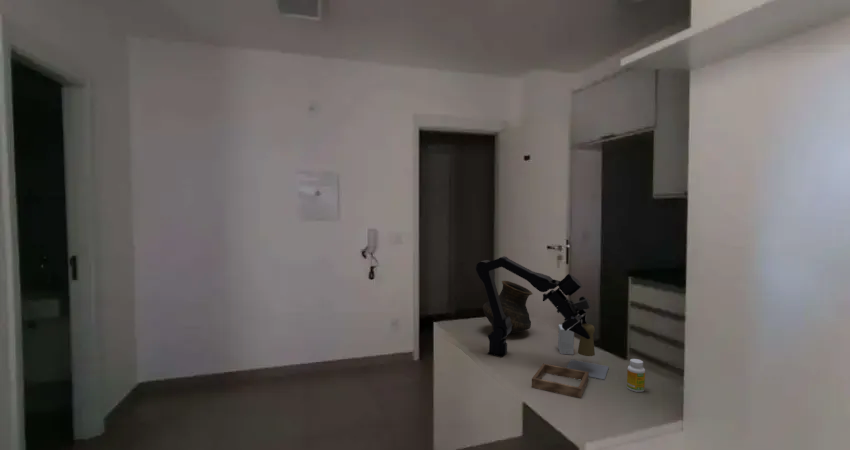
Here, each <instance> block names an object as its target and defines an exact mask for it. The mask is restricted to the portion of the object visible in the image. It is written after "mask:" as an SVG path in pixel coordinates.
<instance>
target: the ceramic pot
mask: <svg viewBox="0 0 850 450" xmlns="http://www.w3.org/2000/svg"><path fill="white" fill-rule="evenodd" d="M501 284H502V289H501V291H500V294H498V295H499V299H500V302H501V306H502V309H503V312H504V314H505V316H506V317H508V316H510V320H511V323H512V325H513V326H511V327H512V330H511V332H510V333H509V334H514V333H521V332H525V331H528V330H530V328H531V326H532V321H531V319H530V313H529V312H528V308H527V302H528V301H527V300H528V298H529V297H530V296H531V295H533V292H532V291H531V290H530V289H528V288H526V287H524V286H522V285H520V284H518V283H515V282H512V281H508V280H502V281H501ZM482 310H483V313H484V315H485V317H486V319H487V320H488V322H489V323H490V325H491V326H492V327H493V314H492V311H491V307H490V304H489V300H488V301H485V303H484V304H483V305H482Z"/></svg>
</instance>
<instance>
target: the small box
mask: <svg viewBox="0 0 850 450" xmlns="http://www.w3.org/2000/svg"><path fill="white" fill-rule="evenodd" d="M570 328H571V327H570ZM557 330H558V331H557V332H558V334H557V336H558V337H557V349H558V351H559V354H560V355H575V354H574V353H575V332H572V331H569V329H568V330H566V331H565V330H564V329H563V328H562V324H558V327H557Z"/></svg>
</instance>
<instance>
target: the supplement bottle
mask: <svg viewBox="0 0 850 450" xmlns="http://www.w3.org/2000/svg"><path fill="white" fill-rule="evenodd" d="M626 372H627V374H626V375H627V376H626V378H627V379H626V388H627V389H628V390H630V391H632V392H635V393H642V392H644V391H645V387H646V386H645V385H646V383H645V382H646V369H645V367H644V361H643V360H641V359H638V358H631V359H630V360H629V365H628V366H627V371H626Z"/></svg>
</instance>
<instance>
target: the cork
mask: <svg viewBox="0 0 850 450" xmlns="http://www.w3.org/2000/svg"><path fill="white" fill-rule="evenodd" d="M582 325H583V327H584V328H585V330H586V331H587V333H588V334H589V336H590V339H586V338H584V337H583V336H581V335H580V336H579V344H578V348H577V353H578V354H579V355H581V356H583V357H594V356H595V355H596V353H595V342H594V334H595V332H596V330H595V329H596V328H595V326H594V325H593V324H590V323H588V324H582Z"/></svg>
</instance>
